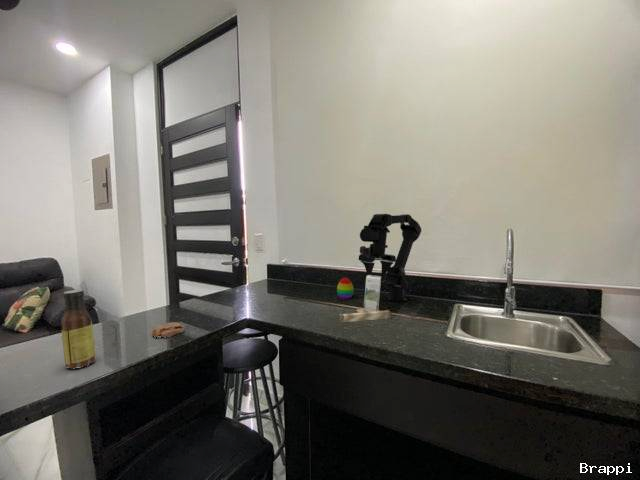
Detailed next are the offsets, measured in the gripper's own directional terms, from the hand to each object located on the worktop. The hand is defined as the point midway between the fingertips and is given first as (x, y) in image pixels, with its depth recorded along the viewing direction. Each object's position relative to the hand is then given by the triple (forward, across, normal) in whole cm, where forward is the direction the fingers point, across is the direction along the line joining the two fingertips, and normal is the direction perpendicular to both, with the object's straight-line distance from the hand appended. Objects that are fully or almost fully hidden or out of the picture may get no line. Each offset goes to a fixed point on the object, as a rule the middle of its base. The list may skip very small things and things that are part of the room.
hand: (375, 277), depth 127 cm
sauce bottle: (+22, +101, -12) cm, 104 cm away
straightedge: (+14, +16, +11) cm, 24 cm away
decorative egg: (+14, 0, -18) cm, 23 cm away
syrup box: (+12, +9, +7) cm, 17 cm away
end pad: (+13, +9, +7) cm, 17 cm away
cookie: (+21, +78, -22) cm, 83 cm away
